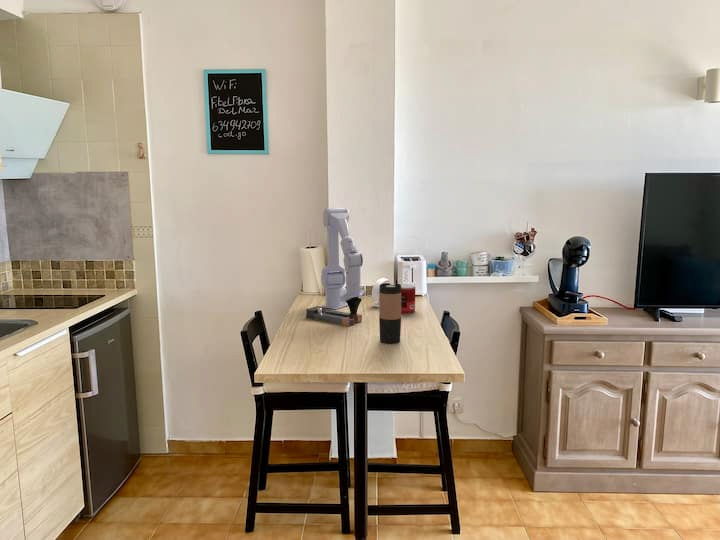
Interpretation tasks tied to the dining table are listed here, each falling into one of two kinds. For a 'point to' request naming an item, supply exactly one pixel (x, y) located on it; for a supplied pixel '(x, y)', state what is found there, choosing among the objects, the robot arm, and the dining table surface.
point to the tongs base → (328, 316)
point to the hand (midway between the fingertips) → (353, 315)
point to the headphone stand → (377, 290)
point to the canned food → (407, 298)
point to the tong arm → (346, 315)
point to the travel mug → (390, 313)
